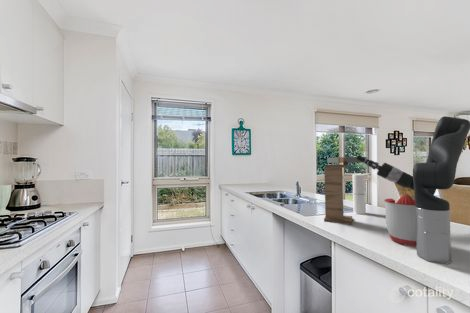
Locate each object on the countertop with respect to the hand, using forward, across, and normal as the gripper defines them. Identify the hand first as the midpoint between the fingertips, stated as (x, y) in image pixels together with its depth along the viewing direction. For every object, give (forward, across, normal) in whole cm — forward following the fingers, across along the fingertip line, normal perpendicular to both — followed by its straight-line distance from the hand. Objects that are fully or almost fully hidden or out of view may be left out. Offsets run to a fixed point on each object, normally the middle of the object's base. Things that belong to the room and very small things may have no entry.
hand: (357, 157), depth 128 cm
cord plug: (+3, 0, +5) cm, 6 cm away
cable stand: (-9, 0, +37) cm, 38 cm away
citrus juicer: (-33, +25, +23) cm, 48 cm away
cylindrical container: (-19, -25, +31) cm, 44 cm away
